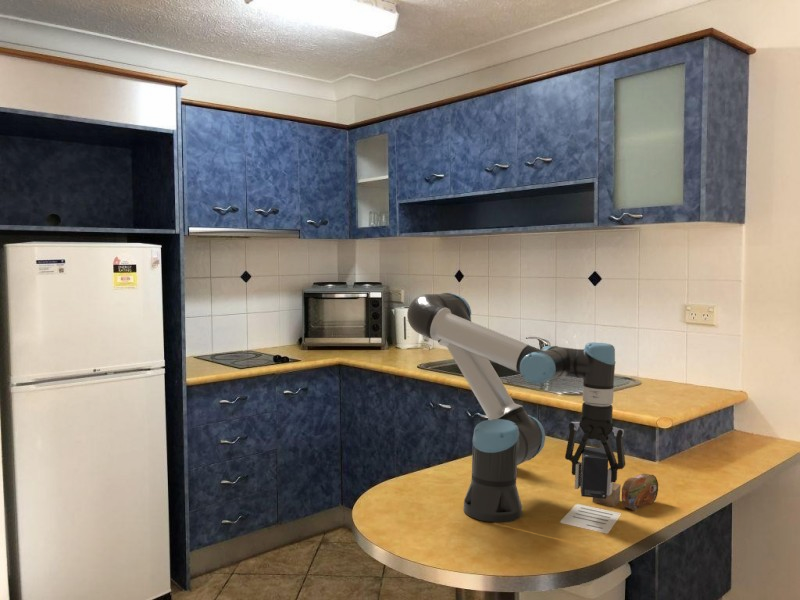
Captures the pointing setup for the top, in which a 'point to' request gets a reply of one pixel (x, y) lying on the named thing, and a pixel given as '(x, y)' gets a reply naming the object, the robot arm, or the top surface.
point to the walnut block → (610, 497)
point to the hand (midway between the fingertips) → (593, 490)
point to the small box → (594, 473)
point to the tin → (639, 491)
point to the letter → (591, 518)
